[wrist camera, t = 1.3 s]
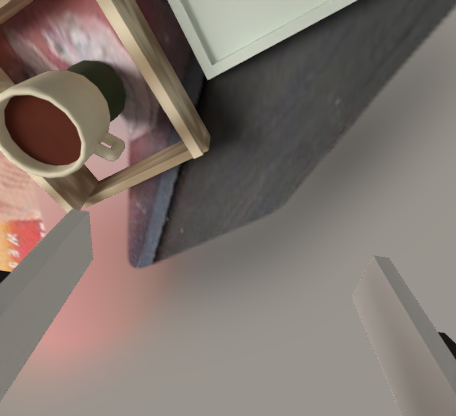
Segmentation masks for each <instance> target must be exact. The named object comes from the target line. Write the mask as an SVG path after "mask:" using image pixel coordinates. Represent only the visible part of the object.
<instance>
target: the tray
mask: <svg viewBox="0 0 456 416" xmlns="http://www.w3.org/2000/svg"><path fill="white" fill-rule="evenodd" d="M355 1H357V0H168V2H169V4H170V6H171V8H172V10H173V12H174V14H175V16H176V18H177V20H178V22H179V24H180V26H181V28H182V30H183V32H184V34H185V36H186V38H187V40H188V42H189V44H190V46H191V48H192V50H193V52H194V54H195V56H196V58H197V60H198V62H199V64H200V66H201V68H202V70H203V72H204V74H205V76H206V78H207V80H209V79H211V78H213V77H215V76H217V75H219V74H220V73H222V72H224V71H226V70H228V69H230V68H232V67H233V66H235V65H237V64H239V63H241V62H243V61H245V60H247V59H248V58H250V57H252V56H254V55H256V54H258V53H260V52H262V51H263V50H265V49H267V48H269V47H271V46H273V45H275V44H276V43H278V42H280V41H282V40H284V39H286V38H288V37H290V36H291V35H293V34H295V33H297V32H299V31H301V30H303V29H304V28H306V27H308V26H310V25H312V24H314V23H316V22H318V21H319V20H321V19H323V18H325V17H327V16H329V15H331V14H332V13H334V12H336V11H338V10H340V9H342V8H344V7H346V6H347V5H349V4H351V3H353V2H355Z"/></svg>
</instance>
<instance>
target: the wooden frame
mask: <svg viewBox="0 0 456 416" xmlns="http://www.w3.org/2000/svg"><path fill="white" fill-rule="evenodd" d="M33 1H34V0H0V25H1V24H3V23H4V22H5V21H7V20H8V19H10V18H11V17H12V16H14V15H15V14H16V13H18V12H19V11H20V10H22V9H23V8H25V7H26V6H27V5H29V4H30V3H31V2H33ZM96 1H97V2H98V4H99V6H100V7H101V9H102V11H103V12H104V14H105V15H106V17H107V19H108V20H109V22H110V24H111V25H112V27H113V28H114V30H115V32H116V33H117V35H118V36H119V38H120V40H121V41H122V43H123V45H124V46H125V48H126V49H127V51H128V53H129V54H130V56H131V58H132V59H133V61H134V62H135V64H136V66H137V67H138V69H139V70H140V72H141V74H142V75H143V77H144V79H145V80H146V82H147V83H148V85H149V87H150V88H151V90H152V92H153V93H154V95H155V96H156V98H157V100H158V101H159V103H160V104H161V106H162V108H163V109H164V111H165V113H166V114H167V116H168V117H169V119H170V121H171V122H172V124H173V126H174V127H175V129H176V130H177V132H178V134H179V135H180V137H181V139H182V141H180V142H178V143H176V144H174V145H172V146H170V147H168V148H166V149H164V150H162V151H160V152H158V153H156V154H154V155H152V156H150V157H148V158H146V159H144V160H141V161H139V162H137V163H135V164H133V165H131V166H129V167H127V168H125V169H123V170H121V171H119V172H117V173H115V174H113V175H111V176H109V177H107V178H105V179H103V180H101V181H98V180H97V179H96V177H95V176H94V175H93V174H92V173H91V172H90V171H89V169H88V168H87V167H86V166H85V165H84V164H83V166H82V167H81V168H80V169H79V170H77V171H75V172H73V173H71V174H69V175H67V176H65V177H57V178H46V177H40V176H36V175H33V174H30V173H28V172H27V173H28V174H29V175H30V176H31V177H32V178H33V179H34V180H35V181H36V182H37V183H38V184H39V185H40V186H41V187H42V188H43V189H44V190H45V191H46V192H47V193H48V194H49V195H50V196H51V197H52V198H53V199H54V200H55V201H56V202H57V203H58V204H59V205H60V206H61V207H62V208H63V209H64V210H65V211H66V212H67V213H68V212H69V211H70V210H71V209H75V210H80V209H81V208H82V206H83V205H85V206H86V207H89V206H91V205H93V204H95V203H97V202H100V201H102V200H104V199H106V198H108V197H110V196H112V195H114V194H117V193H119V192H121V191H123V190H125V189H127V188H129V187H132V186H134V185H136V184H138V183H140V182H142V181H144V180H147V179H149V178H151V177H153V176H155V175H157V174H159V173H161V172H164V171H166V170H168V169H170V168H172V167H174V166H176V165H179V164H181V163H183V162H185V161H187V160H189V159H191V158H194V159H195V158H197V157H199V156H201V155H203V153H204V152H206V151H208V150H209V145H210V134H209V132H208V131H207V129H206V127H205V125H204V123H203V122H202V120H201V118H200V116H199V114H198V113H197V111H196V109H195V107H194V105H193V104H192V102H191V100H190V98H189V96H188V95H187V93H186V91H185V89H184V87H183V86H182V84H181V82H180V80H179V78H178V77H177V75H176V73H175V71H174V69H173V68H172V66H171V64H170V62H169V60H168V59H167V57H166V55H165V53H164V51H163V50H162V48H161V46H160V44H159V42H158V41H157V39H156V37H155V35H154V33H153V32H152V30H151V28H150V26H149V24H148V23H147V21H146V19H145V17H144V15H143V14H142V12H141V10H140V8H139V6H138V5H137V3H136V1H135V0H96ZM0 79H3V80H6V81H9V82H11V83H13V84H14V82H13V81H12V80H11V79H10V78H9V77H8V75H7V74H6V73H5V72H4V71H3V70H2V69H1V67H0Z"/></svg>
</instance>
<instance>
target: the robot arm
mask: <svg viewBox="0 0 456 416" xmlns="http://www.w3.org/2000/svg"><path fill="white" fill-rule="evenodd" d="M92 260H93V254H92V241H91V229H90V217H89V212H87V211H80V210H75V209H71V210H70V211H69V212H68V213H67V214H66V215H65V217H64V218H63V219H62V220H61V221H60V222H59V223H58V224H57V225H56V226H55V227H54V228H53V229H52V230H51V231H50V232H49V233H48V234H47V235H46V236H45V237H44V238H43V240H42V241H41V242H40V243H39V244H38V245H37V246H36V247H35V248H34V249H33V250H32V251H31V252H30V253H29V254H28V255H27V256H26V257H25V258H24V259H23V260H22V261H21V263H20V264H19V265H18V266H17V267H16V268H15V269H14V270H13V271H12V272H8V271H1V270H0V401H1V400H2V398H3V397H4V395H5V394H6V392H7V391H8V389H9V387H10V386H11V384H12V383H13V381H14V380H15V378H16V377H17V375H18V374H19V372H20V371H21V369H22V367H23V366H24V365H25V363H26V361H27V360H28V358H29V357H30V355H31V354H32V352H33V350H34V349H35V348H36V346H37V344H38V343H39V341H40V340H41V338H42V337H43V335H44V334H45V332H46V331H47V329H48V328H49V326H50V324H51V323H52V321H53V320H54V318H55V317H56V315H57V314H58V312H59V311H60V309H61V308H62V306H63V304H64V303H65V302H66V300H67V298H68V297H69V295H70V294H71V292H72V291H73V289H74V288H75V286H76V285H77V283H78V281H79V280H80V278H81V277H82V275H83V274H84V272H85V271H86V269H87V268H88V266H89V264H90V263H91V261H92ZM352 299H353V302H354V304H355V307H356V309H357V311H358V314H359V316H360V318H361V321H362V323H363V326H364V328H365V330H366V333H367V335H368V338H369V340H370V342H371V345H372V347H373V349H374V352H375V354H376V357H377V359H378V361H379V364H380V366H381V369H382V371H383V373H384V376H385V378H386V381H387V383H388V385H389V388H390V390H391V392H392V395H393V397H394V400H395V402H396V404H397V407H398V409H399V412H400V414H401V416H456V343H455V342H453V341H452V340H451V339H450V338H449V337H448V336H447V335H446V334H445V333H440V332H437V331H436V329H435V328H434V326H433V324H432V323H431V321H430V320H429V318H428V317H427V315H426V314H425V312H424V311H423V309H422V308H421V306H420V305H419V303H418V302H417V300H416V299H415V297H414V295H413V294H412V293H411V291H410V290H409V288H408V286H407V285H406V283H405V282H404V280H403V279H402V277H401V276H400V274H399V273H398V271H397V270H396V268H395V267H394V265H393V263H392V262H391V261H390V259H389V258H385V257H379V256H373V257H372V259H371V261H370V263H369V265H368V266H367V268H366V270H365V272H364V274H363V276H362V278H361V280H360V282H359V284H358V286H357V288H356V290H355V292H354V294H353V295H352Z"/></svg>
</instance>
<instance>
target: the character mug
mask: <svg viewBox="0 0 456 416" xmlns="http://www.w3.org/2000/svg"><path fill="white" fill-rule="evenodd" d="M124 103H125V92H124V89H123V85H122V82H121V80H120V79H119V78H118V77H117V75H116V74H115V73H114V71H113V70H112V69H110V68H109V67H107V66H105V65H104V64H102V63H100V62H97V61H86V60H84V61H81V62H79V63H77V64H75V65H72V66H71V67H70V68H69V69H67V70H61V71H46V72H44V73H41V74H39V75H37V76H35V77H32V78H30V79H28V80H26V81H23V82H21V83H19V84H17V85H15V84H13V83H11V82H9V81H6V80H3V79H0V151H1V152H2V153H3V154H4V155H5V156H6V157H7V158H8V160H9V161H11V162H12V163H13V164H15V165H16V166H18V167H19V168H20V169H22V170H24V171H26V172H28V173H30V174H33V175H36V176H40V177H46V178H57V177H65V176H67V175H69V174H71V173H73V172H75V171H77V170H79V169H80V168H81V167H82V166H83V164H84V163H85V162H86V160H87V159H88V158H89V157H90V156H91V155H92V154H93V153H94V154H96V155H98V156H100V157H102V158H105V159H107V160H109V161H115V160H116V159H118V158H119V156H120V155H121V153H122V152H123V150H124V149H125V143H124V141H123V140H121V139H119V138H117V137H116V136H113V135H112V134H110V133H108V130H109V123H110V122H111V121H112V120H114V119H115V118H116V117H118V115H119V114H120V113H121V111H122V110H123V109H124ZM101 142H104V143H106V144H108V145H110V146H112V147H111V149H110V148H108V147H106V146H104V145H102V144H100V143H101Z"/></svg>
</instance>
